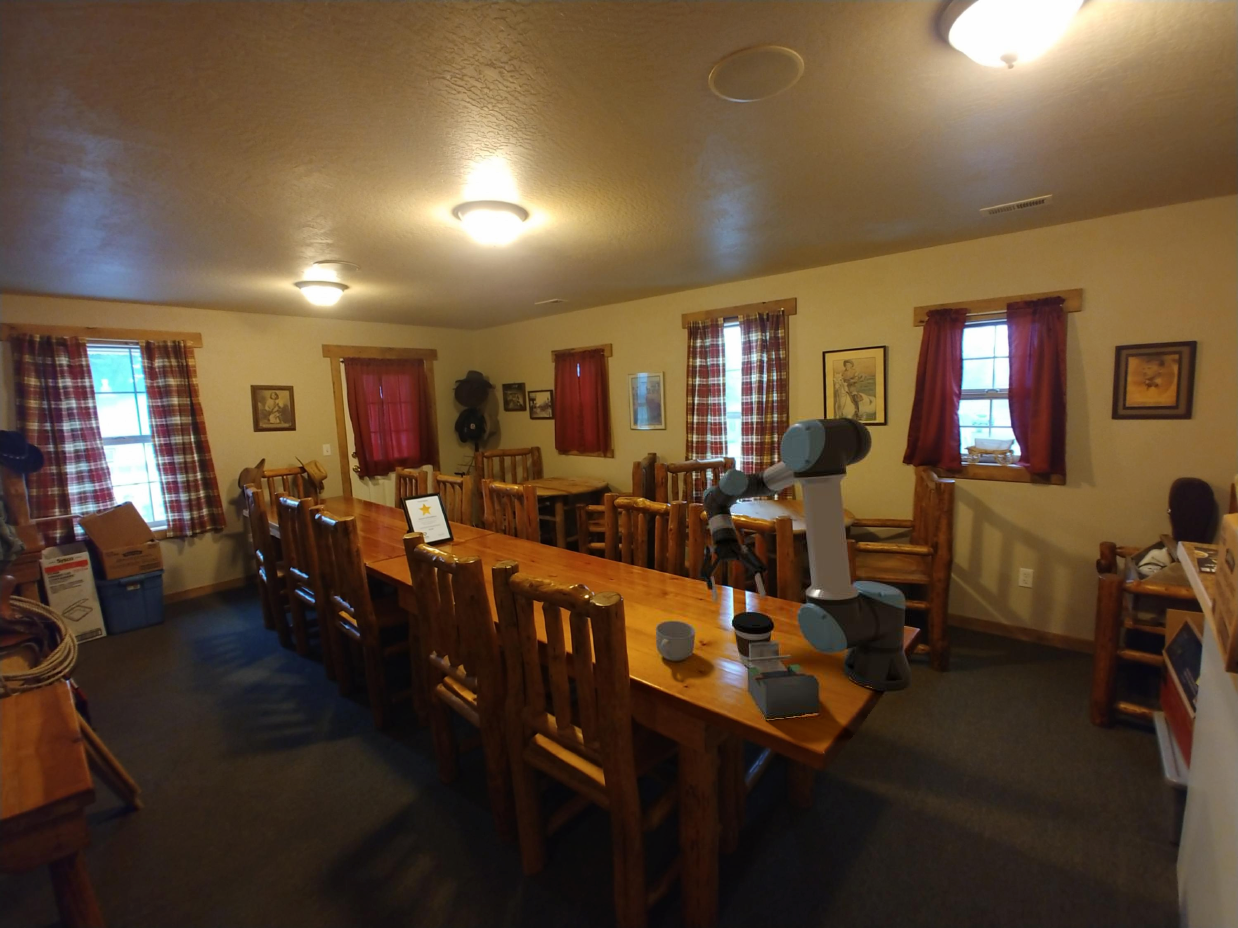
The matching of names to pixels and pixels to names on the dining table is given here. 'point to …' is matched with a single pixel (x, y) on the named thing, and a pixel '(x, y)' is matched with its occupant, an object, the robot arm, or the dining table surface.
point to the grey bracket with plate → (767, 659)
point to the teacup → (675, 640)
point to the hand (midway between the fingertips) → (739, 598)
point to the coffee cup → (751, 631)
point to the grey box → (784, 693)
